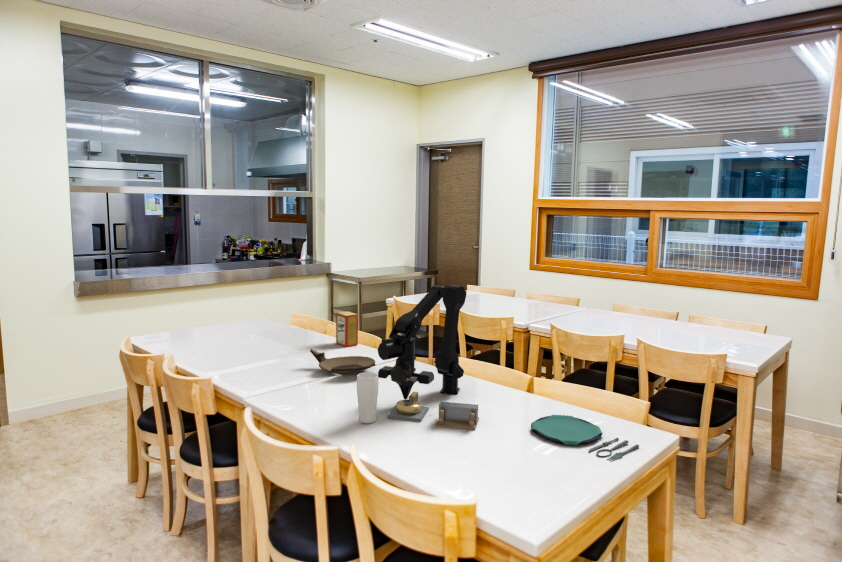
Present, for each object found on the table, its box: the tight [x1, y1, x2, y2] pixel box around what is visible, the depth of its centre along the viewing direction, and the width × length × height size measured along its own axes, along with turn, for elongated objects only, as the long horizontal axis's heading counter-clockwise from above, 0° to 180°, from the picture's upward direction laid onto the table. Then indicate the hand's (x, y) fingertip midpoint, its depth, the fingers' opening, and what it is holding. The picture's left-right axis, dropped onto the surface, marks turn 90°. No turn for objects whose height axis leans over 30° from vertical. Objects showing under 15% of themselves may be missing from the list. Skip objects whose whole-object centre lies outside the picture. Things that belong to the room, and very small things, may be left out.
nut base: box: [387, 404, 430, 423], centre depth 183 cm, size 11×11×1 cm
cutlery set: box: [530, 414, 640, 462], centre depth 165 cm, size 20×30×2 cm, turn 38°
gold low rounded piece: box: [396, 391, 422, 415], centre depth 185 cm, size 14×8×3 cm, turn 167°
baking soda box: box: [335, 310, 359, 348], centre depth 273 cm, size 10×6×16 cm
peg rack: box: [436, 409, 480, 431], centre depth 176 cm, size 9×12×5 cm
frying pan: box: [309, 348, 377, 376], centre depth 229 cm, size 22×30×8 cm
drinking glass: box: [356, 371, 379, 425], centre depth 175 cm, size 7×7×15 cm
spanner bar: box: [438, 401, 479, 425], centre depth 176 cm, size 12×4×5 cm, turn 77°
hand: (405, 399), depth 191 cm, fingers closed
